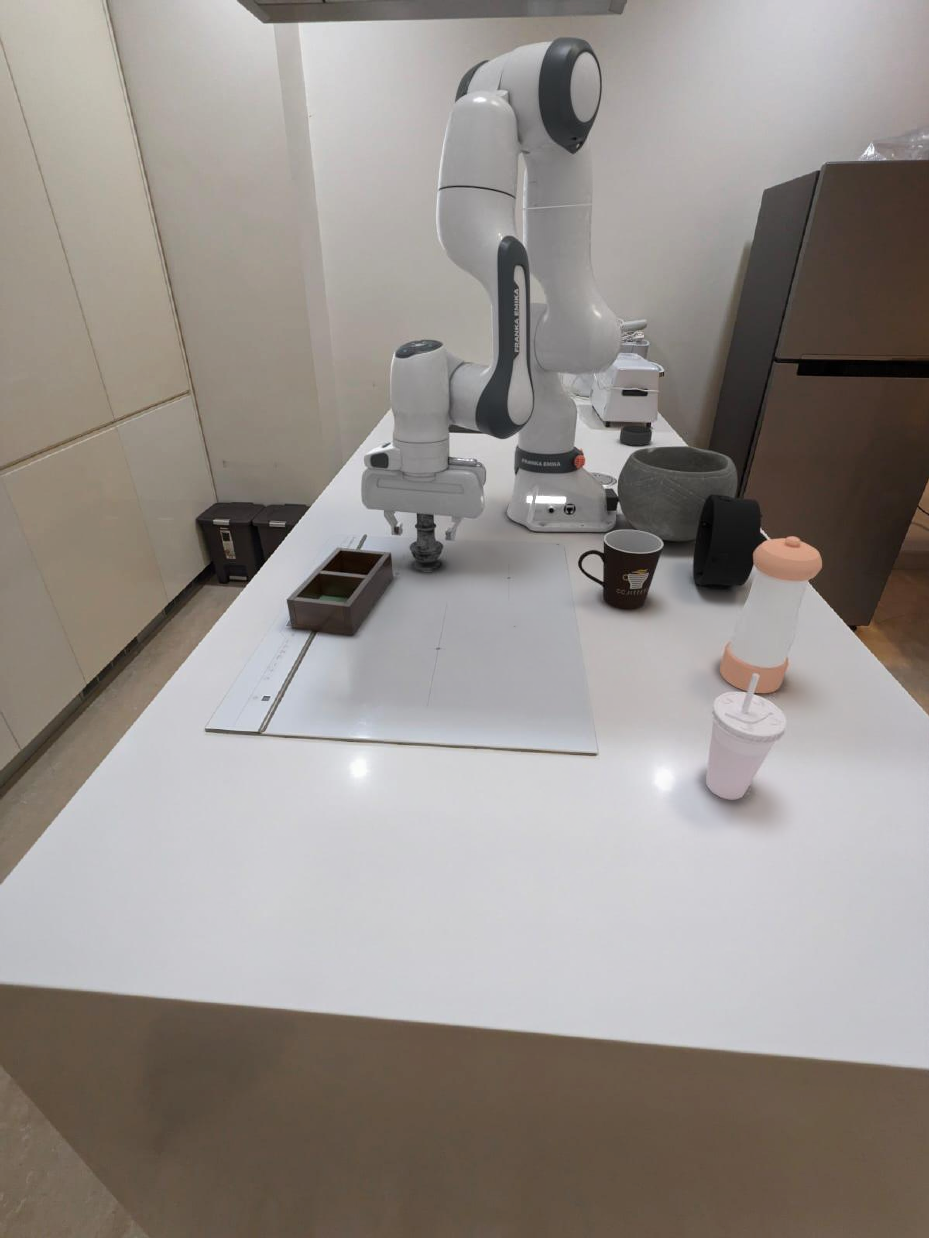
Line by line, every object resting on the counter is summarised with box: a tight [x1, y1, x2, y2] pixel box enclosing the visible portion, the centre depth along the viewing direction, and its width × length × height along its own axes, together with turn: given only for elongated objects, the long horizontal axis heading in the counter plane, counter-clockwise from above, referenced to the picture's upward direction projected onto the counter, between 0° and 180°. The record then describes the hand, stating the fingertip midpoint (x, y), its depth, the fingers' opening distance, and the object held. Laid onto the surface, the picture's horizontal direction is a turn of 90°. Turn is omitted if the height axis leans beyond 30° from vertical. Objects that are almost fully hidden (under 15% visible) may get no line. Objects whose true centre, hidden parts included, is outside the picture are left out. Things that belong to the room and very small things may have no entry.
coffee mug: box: [577, 529, 664, 611], centre depth 89 cm, size 12×9×10 cm
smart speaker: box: [619, 425, 653, 447], centre depth 169 cm, size 9×9×4 cm
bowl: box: [616, 445, 738, 542], centre depth 109 cm, size 21×21×15 cm
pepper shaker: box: [719, 535, 823, 694], centre depth 69 cm, size 7×7×19 cm
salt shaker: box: [408, 513, 444, 573], centre depth 98 cm, size 6×6×12 cm
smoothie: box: [705, 673, 788, 801], centre depth 55 cm, size 6×6×14 cm
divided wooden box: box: [286, 546, 394, 637], centre depth 89 cm, size 10×18×5 cm, turn 168°
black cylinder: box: [692, 494, 768, 589], centre depth 92 cm, size 14×14×10 cm
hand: (423, 536), depth 98 cm, fingers open, 8 cm apart
